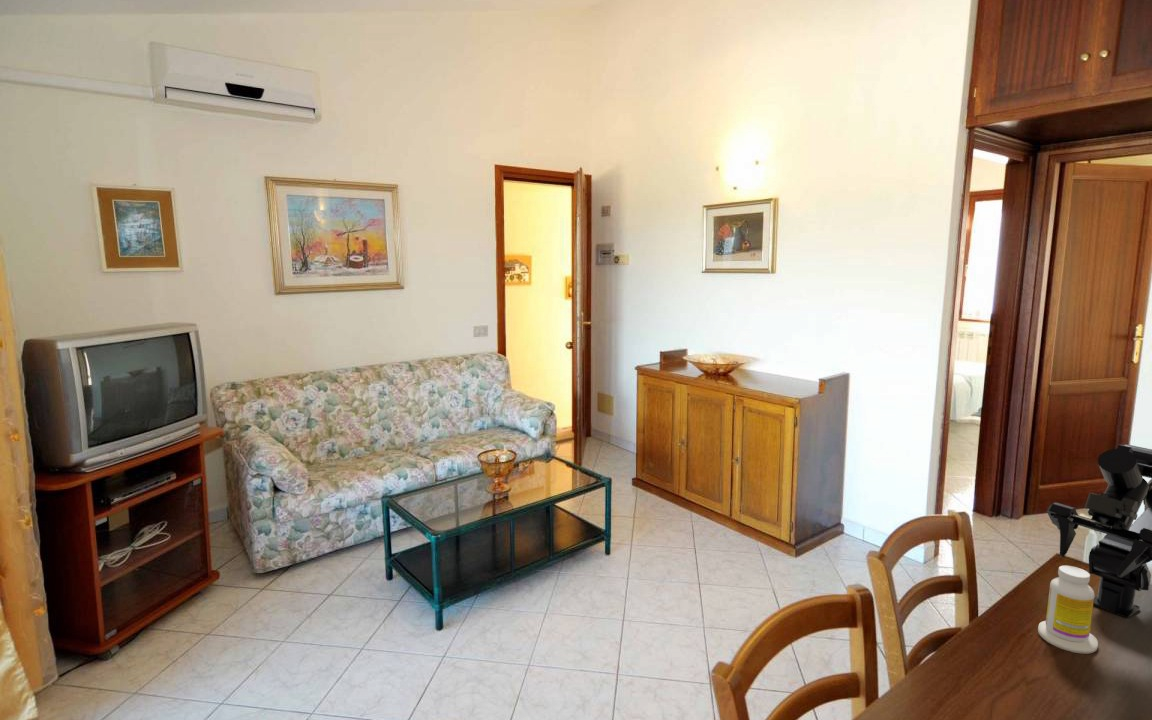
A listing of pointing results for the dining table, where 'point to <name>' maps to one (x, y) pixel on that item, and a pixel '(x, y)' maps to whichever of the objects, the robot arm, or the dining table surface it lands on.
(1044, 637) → the coaster
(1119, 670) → the dining table surface
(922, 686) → the dining table surface
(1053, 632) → the supplement bottle
